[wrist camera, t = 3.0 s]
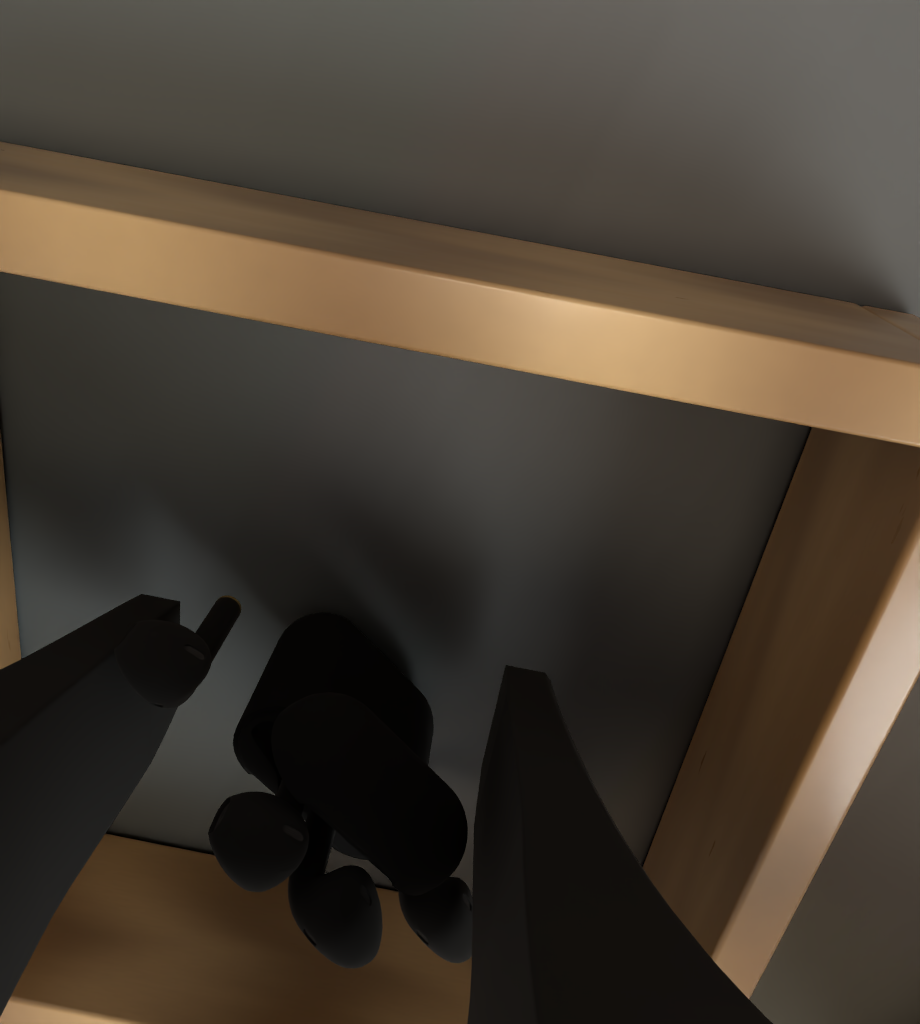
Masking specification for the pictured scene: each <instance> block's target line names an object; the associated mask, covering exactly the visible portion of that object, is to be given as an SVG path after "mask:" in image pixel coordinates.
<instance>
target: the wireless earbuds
mask: <svg viewBox="0 0 920 1024" xmlns="http://www.w3.org/2000/svg"><path fill="white" fill-rule="evenodd" d="M240 612H241V605H240V603H239V601H238V600H237V599H236V598H234V597H232V596H222V597H220V598H219V599H218V600H217V601H216V602H215V604H214V605H213V607H212V608H211V610H210V612H209V613H208V615H207V616H206V618H205V619H204V621H203V622H202V624H201V625H200V627H199V628H198V630H197V631H196V633H194V632H193V631H191V630H190V629H188V628H186V627H184V626H182V625H179V624H177V623H173V622H169V621H163V620H144V621H138V622H137V623H136V624H135V625H134V626H133V627H132V628H131V629H130V630H129V631H128V632H127V634H126V635H125V636H124V637H123V639H122V640H121V641H120V642H119V644H118V645H117V646H116V648H115V649H114V653H115V658H116V661H117V664H118V666H119V669H120V671H121V673H122V674H123V676H124V678H125V679H126V681H127V682H128V684H129V685H130V686H131V687H132V688H133V689H134V690H135V691H136V693H137V694H139V695H140V696H141V697H142V698H143V699H144V700H146V701H147V702H148V703H150V704H152V705H154V706H157V707H160V708H165V709H171V708H175V707H178V706H180V705H181V704H183V703H184V702H185V701H187V700H188V699H189V698H190V696H191V695H192V694H193V692H194V691H195V690H196V688H197V687H198V685H199V684H200V683H201V682H202V681H203V679H204V678H205V677H206V675H207V673H208V671H209V669H210V666H211V663H212V661H213V659H214V657H215V656H216V654H217V652H218V651H219V649H220V647H221V646H222V644H223V642H224V640H225V639H226V637H227V635H228V634H229V632H230V630H231V629H232V627H233V625H234V623H235V622H236V620H237V618H238V617H239V615H240ZM432 736H433V715H432V711H431V708H430V706H429V704H428V702H427V700H426V698H425V697H424V696H423V694H422V693H421V692H420V691H419V690H418V689H417V688H416V687H415V686H414V685H413V684H412V683H411V682H410V681H409V680H408V679H407V678H406V677H405V676H404V675H403V674H402V673H401V672H400V671H399V670H398V669H397V668H396V667H395V666H394V665H393V664H392V663H391V662H390V661H389V660H388V659H387V658H386V657H385V656H384V655H383V654H382V653H381V651H380V650H379V649H378V648H377V647H376V646H375V645H374V644H373V643H372V642H371V641H370V640H369V639H368V638H367V637H366V636H365V635H364V634H363V633H362V632H361V631H360V630H359V629H358V628H357V627H356V626H355V625H354V624H352V623H351V622H350V621H349V620H347V619H345V618H343V617H341V616H338V615H336V614H331V613H315V614H310V615H307V616H304V617H302V618H300V619H298V620H296V621H295V622H293V623H292V624H291V625H290V626H289V627H288V628H287V629H286V630H285V631H284V633H283V634H282V636H281V637H280V639H279V640H278V642H277V645H276V647H275V649H274V651H273V653H272V655H271V657H270V659H269V661H268V663H267V665H266V667H265V669H264V672H263V674H262V676H261V678H260V680H259V682H258V684H257V686H256V688H255V690H254V692H253V694H252V696H251V699H250V701H249V703H248V705H247V707H246V709H245V711H244V713H243V715H242V717H241V719H240V721H239V723H238V726H237V728H236V730H235V733H234V738H233V746H234V752H235V754H236V757H237V759H238V761H239V763H240V764H241V766H242V767H243V768H244V769H245V771H246V772H247V773H248V774H252V775H254V776H255V777H256V778H257V779H259V780H260V781H261V782H262V783H263V784H264V785H265V786H266V787H268V788H269V789H270V790H271V791H272V792H273V793H274V794H275V795H276V796H274V795H272V794H268V793H264V792H245V793H240V794H237V795H233V796H231V797H229V798H227V799H226V800H225V801H224V802H223V804H222V805H221V806H220V808H219V809H218V811H217V813H216V815H215V817H214V819H213V822H212V824H211V826H210V829H209V832H208V835H209V840H210V844H211V847H212V850H213V852H214V854H215V857H216V859H217V861H218V862H219V864H220V866H221V867H222V869H223V870H224V872H225V873H226V874H227V875H228V876H229V878H230V879H231V880H233V881H234V882H235V883H236V884H237V885H238V886H240V887H241V888H243V889H245V890H247V891H251V892H264V891H267V890H269V889H271V888H274V887H275V886H277V885H279V884H280V883H282V882H283V881H284V880H286V879H287V878H288V877H289V881H288V900H289V905H290V909H291V912H292V915H293V917H294V919H295V921H296V923H297V925H298V927H299V928H300V930H301V931H302V932H303V934H304V935H305V936H306V937H307V939H308V940H309V941H310V943H311V944H312V945H313V946H314V947H315V948H316V949H317V950H318V951H319V952H320V953H321V954H323V955H324V956H325V957H326V958H327V959H329V960H330V961H332V962H333V963H335V964H337V965H339V966H341V967H344V968H352V969H353V968H360V967H362V966H365V965H367V964H368V963H370V962H371V961H372V960H373V959H374V958H375V956H376V955H377V953H378V950H379V947H380V943H381V938H382V928H383V923H382V910H381V905H380V900H379V897H378V893H377V890H376V887H375V885H374V882H373V880H372V879H371V877H370V875H369V874H368V873H367V872H366V871H365V870H364V869H363V868H361V867H358V866H344V867H341V868H339V869H337V870H334V871H332V872H330V873H328V874H326V875H324V872H325V869H326V865H327V862H328V858H329V854H330V851H331V847H333V848H334V849H335V850H337V851H339V852H341V853H343V854H345V855H348V856H351V857H354V858H359V859H363V860H369V861H370V862H371V863H372V864H373V865H374V866H375V867H377V868H378V869H379V870H380V871H381V872H382V873H383V874H384V875H385V876H387V877H388V878H389V880H390V881H391V883H392V886H394V887H395V888H396V889H398V895H399V902H400V907H401V910H402V913H403V915H404V918H405V919H406V921H407V923H408V925H409V926H410V927H411V929H412V930H413V931H414V932H415V934H416V935H417V936H418V937H419V938H420V939H421V940H422V942H423V943H424V944H425V945H426V946H427V947H428V948H430V949H431V950H432V951H433V952H434V953H435V954H437V955H438V956H439V957H441V958H442V959H444V960H446V961H448V962H451V963H462V962H465V961H467V960H468V959H470V958H471V957H472V912H473V897H472V895H471V892H470V890H469V888H468V886H467V885H466V883H465V882H464V881H463V880H461V879H460V878H456V877H450V876H451V874H452V873H453V872H454V871H455V869H456V868H457V867H458V865H459V863H460V861H461V859H462V857H463V854H464V852H465V848H466V843H467V820H466V816H465V812H464V809H463V806H462V804H461V802H460V800H459V798H458V797H457V795H456V794H455V793H454V791H453V790H452V789H451V788H450V787H449V786H448V785H447V784H446V783H445V782H444V781H443V780H442V779H441V778H440V777H439V776H438V775H437V774H436V773H435V772H434V771H433V770H432V769H431V768H430V767H429V766H428V762H429V755H430V749H431V742H432ZM304 820H305V821H304Z"/></svg>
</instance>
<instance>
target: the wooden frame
mask: <svg viewBox="0 0 920 1024" xmlns="http://www.w3.org/2000/svg"><path fill="white" fill-rule="evenodd" d="M0 272H4V273H10V274H15V275H20V276H25V277H30V278H36V279H41V280H46V281H51V282H57V283H62V284H67V285H72V286H78V287H83V288H88V289H93V290H98V291H104V292H109V293H114V294H119V295H125V296H130V297H135V298H140V299H146V300H151V301H156V302H161V303H166V304H172V305H177V306H182V307H187V308H193V309H198V310H203V311H208V312H214V313H219V314H224V315H229V316H234V317H240V318H245V319H250V320H255V321H261V322H266V323H271V324H276V325H282V326H287V327H292V328H297V329H302V330H308V331H313V332H318V333H323V334H329V335H334V336H339V337H344V338H349V339H355V340H360V341H365V342H370V343H376V344H381V345H386V346H391V347H397V348H402V349H407V350H412V351H417V352H423V353H428V354H433V355H438V356H444V357H449V358H454V359H459V360H465V361H470V362H475V363H480V364H485V365H491V366H496V367H501V368H506V369H512V370H517V371H522V372H527V373H533V374H538V375H543V376H548V377H553V378H559V379H564V380H569V381H574V382H580V383H585V384H590V385H595V386H601V387H606V388H611V389H616V390H621V391H627V392H632V393H637V394H642V395H648V396H653V397H658V398H663V399H669V400H674V401H679V402H684V403H689V404H695V405H700V406H705V407H710V408H716V409H721V410H726V411H731V412H737V413H742V414H747V415H752V416H757V417H763V418H768V419H773V420H778V421H784V422H789V423H794V424H799V425H805V426H810V427H812V429H811V432H810V435H809V437H808V440H807V442H806V445H805V448H804V450H803V453H802V455H801V458H800V461H799V463H798V466H797V468H796V471H795V474H794V476H793V479H792V481H791V484H790V487H789V489H788V492H787V494H786V497H785V500H784V502H783V505H782V507H781V510H780V513H779V515H778V518H777V520H776V523H775V525H774V528H773V531H772V533H771V536H770V538H769V541H768V544H767V546H766V549H765V551H764V554H763V557H762V559H761V562H760V564H759V567H758V570H757V572H756V575H755V577H754V580H753V583H752V585H751V588H750V590H749V593H748V596H747V598H746V601H745V603H744V606H743V609H742V611H741V614H740V616H739V619H738V621H737V624H736V627H735V629H734V632H733V634H732V637H731V640H730V642H729V645H728V647H727V650H726V653H725V655H724V658H723V660H722V663H721V666H720V668H719V671H718V673H717V676H716V679H715V681H714V684H713V686H712V689H711V692H710V694H709V697H708V699H707V702H706V705H705V707H704V710H703V712H702V715H701V717H700V720H699V723H698V725H697V728H696V730H695V733H694V736H693V738H692V741H691V743H690V746H689V749H688V751H687V754H686V756H685V759H684V762H683V764H682V767H681V769H680V772H679V775H678V777H677V780H676V782H675V785H674V788H673V790H672V793H671V795H670V798H669V801H668V803H667V806H666V808H665V811H664V813H663V816H662V819H661V821H660V824H659V826H658V829H657V832H656V834H655V837H654V839H653V842H652V845H651V847H650V850H649V852H648V855H647V858H646V860H645V863H644V865H643V869H644V871H645V872H646V874H647V875H648V877H649V878H650V880H651V881H652V883H653V884H654V886H655V887H656V888H657V890H658V891H659V892H660V894H661V895H662V897H663V898H664V899H665V901H666V902H667V904H668V905H669V906H670V908H671V909H672V910H673V912H674V913H675V914H676V915H677V916H678V918H679V919H680V920H681V921H682V923H683V924H684V925H685V926H686V928H687V929H688V930H689V931H690V933H691V934H692V935H693V936H694V937H695V939H696V940H697V941H698V942H699V944H700V945H701V946H702V947H703V949H704V950H705V951H706V952H707V953H708V955H709V956H710V957H711V958H712V959H713V961H714V962H715V963H716V964H717V965H718V966H719V968H720V969H721V970H722V971H723V972H724V973H725V974H726V975H727V976H728V977H729V978H730V979H731V981H732V982H733V983H734V984H735V985H736V986H737V987H738V988H739V989H740V990H741V991H742V992H743V994H744V995H745V996H746V997H747V998H748V999H750V997H751V995H752V993H753V991H754V989H755V987H756V986H757V984H758V982H759V980H760V978H761V976H762V974H763V972H764V970H765V968H766V966H767V965H768V963H769V961H770V959H771V957H772V955H773V953H774V951H775V949H776V947H777V945H778V944H779V942H780V940H781V938H782V936H783V934H784V932H785V930H786V928H787V926H788V925H789V923H790V921H791V919H792V917H793V915H794V913H795V911H796V909H797V907H798V905H799V904H800V902H801V900H802V898H803V896H804V894H805V892H806V890H807V888H808V886H809V884H810V883H811V881H812V879H813V877H814V875H815V873H816V871H817V869H818V867H819V865H820V864H821V862H822V860H823V858H824V856H825V854H826V852H827V850H828V848H829V846H830V844H831V843H832V841H833V839H834V837H835V835H836V833H837V831H838V829H839V827H840V825H841V824H842V822H843V820H844V818H845V816H846V814H847V812H848V810H849V808H850V806H851V804H852V803H853V801H854V799H855V797H856V795H857V793H858V791H859V789H860V787H861V785H862V783H863V782H864V780H865V778H866V776H867V774H868V772H869V770H870V768H871V766H872V764H873V763H874V761H875V759H876V757H877V755H878V753H879V751H880V749H881V747H882V745H883V743H884V742H885V740H886V738H887V736H888V734H889V732H890V730H891V728H892V726H893V724H894V723H895V721H896V719H897V717H898V715H899V713H900V711H901V709H902V707H903V705H904V703H905V702H906V700H907V698H908V696H909V694H910V692H911V690H912V688H913V686H914V684H915V682H916V681H917V679H918V677H919V675H920V318H918V317H917V316H915V315H912V314H907V313H901V312H896V311H891V310H886V309H880V308H875V307H870V306H863V307H860V306H859V305H857V304H855V303H850V302H845V301H840V300H835V299H829V298H824V297H819V296H813V295H808V294H803V293H798V292H792V291H787V290H782V289H776V288H771V287H766V286H761V285H755V284H750V283H745V282H739V281H734V280H729V279H724V278H718V277H713V276H708V275H703V274H697V273H692V272H687V271H681V270H676V269H671V268H666V267H660V266H655V265H650V264H644V263H639V262H634V261H629V260H623V259H618V258H613V257H607V256H602V255H597V254H592V253H586V252H581V251H576V250H570V249H565V248H560V247H555V246H549V245H544V244H539V243H534V242H528V241H523V240H518V239H512V238H507V237H502V236H497V235H491V234H486V233H481V232H475V231H470V230H465V229H460V228H454V227H449V226H444V225H438V224H433V223H428V222H423V221H417V220H412V219H407V218H401V217H396V216H391V215H386V214H380V213H375V212H370V211H365V210H359V209H354V208H349V207H343V206H338V205H333V204H328V203H322V202H317V201H312V200H306V199H301V198H296V197H291V196H285V195H280V194H275V193H269V192H264V191H259V190H254V189H248V188H243V187H238V186H232V185H227V184H222V183H217V182H211V181H206V180H201V179H196V178H190V177H185V176H180V175H174V174H169V173H164V172H159V171H153V170H148V169H143V168H137V167H132V166H127V165H122V164H116V163H111V162H106V161H100V160H95V159H90V158H85V157H79V156H74V155H69V154H64V153H58V152H53V151H48V150H42V149H37V148H32V147H27V146H21V145H16V144H11V143H5V142H0ZM19 660H21V649H20V638H19V627H18V616H17V606H16V595H15V584H14V573H13V562H12V551H11V540H10V529H9V519H8V508H7V497H6V486H5V475H4V464H3V453H2V442H1V431H0V669H2V668H4V667H6V666H9V665H11V664H13V663H15V662H17V661H19ZM288 881H289V877H288V878H287V879H286V880H284V881H283V882H282V883H280V884H279V885H277V886H275V887H274V888H271V889H269V890H267V891H264V892H251V891H247V890H245V889H243V888H241V887H240V886H238V885H237V884H236V883H235V882H234V881H233V880H231V879H230V878H229V876H228V875H227V874H226V873H225V872H224V870H223V869H222V867H221V866H220V864H219V862H218V861H217V859H216V857H215V855H211V854H206V853H201V852H196V851H191V850H186V849H181V848H175V847H170V846H165V845H160V844H155V843H150V842H145V841H140V840H135V839H130V838H125V837H120V836H115V835H110V834H105V835H104V836H103V838H102V839H101V841H100V842H99V844H98V845H97V847H96V848H95V850H94V852H93V853H92V855H91V856H90V858H89V859H88V861H87V862H86V864H85V865H84V867H83V868H82V870H81V871H80V873H79V874H78V876H77V877H76V879H75V881H74V882H73V884H72V885H71V887H70V888H69V890H68V891H67V893H66V895H65V897H64V898H63V900H62V902H61V903H60V905H59V907H58V908H57V910H56V912H55V913H54V915H53V917H52V918H51V920H50V922H49V924H48V926H47V928H46V930H45V932H44V933H43V935H42V937H41V939H40V941H39V943H38V945H37V947H36V949H35V951H34V953H33V954H32V956H31V958H30V960H29V962H28V964H27V966H26V968H25V970H24V972H23V973H22V975H21V977H20V979H19V981H18V983H17V985H16V987H15V989H14V991H13V993H12V995H11V997H10V999H9V1001H8V1003H7V1005H6V1007H5V1009H4V1011H3V1013H2V1015H1V1017H0V1024H467V1022H468V1012H469V1003H470V987H471V969H472V957H471V958H470V959H468V960H467V961H465V962H462V963H451V962H448V961H446V960H444V959H442V958H441V957H439V956H438V955H437V954H435V953H434V952H433V951H432V950H431V949H430V948H428V947H427V946H426V945H425V944H424V943H423V942H422V940H421V939H420V938H419V937H418V936H417V935H416V934H415V932H414V931H413V930H412V929H411V927H410V926H409V925H408V923H407V921H406V919H405V918H404V915H403V913H402V910H401V907H400V902H399V895H398V892H397V891H392V890H387V889H382V888H377V887H376V890H377V893H378V897H379V900H380V905H381V910H382V923H383V928H382V938H381V943H380V947H379V950H378V953H377V955H376V956H375V958H374V959H373V960H372V961H371V962H370V963H368V964H367V965H365V966H362V967H360V968H353V969H352V968H344V967H341V966H339V965H337V964H335V963H333V962H332V961H330V960H329V959H327V958H326V957H325V956H324V955H323V954H321V953H320V952H319V951H318V950H317V949H316V948H315V947H314V946H313V945H312V944H311V943H310V941H309V940H308V939H307V937H306V936H305V935H304V934H303V932H302V931H301V930H300V928H299V927H298V925H297V923H296V921H295V919H294V917H293V915H292V912H291V909H290V905H289V900H288Z"/></svg>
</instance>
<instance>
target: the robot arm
mask: <svg viewBox="0 0 920 1024" xmlns="http://www.w3.org/2000/svg"><path fill="white" fill-rule="evenodd" d="M144 620H163V621H169V622H173V623H177V624H179V625H180V601H175V600H170V599H164V598H159V597H154V596H149V595H144V594H141V595H139V596H137V597H135V598H133V599H131V600H129V601H127V602H125V603H123V604H122V605H120V606H118V607H116V608H114V609H112V610H111V611H109V612H107V613H105V614H103V615H102V616H100V617H98V618H96V619H95V620H93V621H91V622H89V623H87V624H86V625H84V626H82V627H80V628H78V629H77V630H75V631H73V632H71V633H69V634H68V635H66V636H64V637H62V638H60V639H58V640H56V641H55V642H53V643H51V644H49V645H47V646H45V647H44V648H42V649H40V650H38V651H36V652H34V653H32V654H31V655H29V656H27V657H25V658H23V659H21V660H19V661H17V662H15V663H13V664H11V665H9V666H6V667H4V668H2V669H0V1017H1V1015H2V1013H3V1011H4V1009H5V1007H6V1005H7V1003H8V1001H9V999H10V997H11V995H12V993H13V991H14V989H15V987H16V985H17V983H18V981H19V979H20V977H21V975H22V973H23V972H24V970H25V968H26V966H27V964H28V962H29V960H30V958H31V956H32V954H33V953H34V951H35V949H36V947H37V945H38V943H39V941H40V939H41V937H42V935H43V933H44V932H45V930H46V928H47V926H48V924H49V922H50V920H51V918H52V917H53V915H54V913H55V912H56V910H57V908H58V907H59V905H60V903H61V902H62V900H63V898H64V897H65V895H66V893H67V891H68V890H69V888H70V887H71V885H72V884H73V882H74V881H75V879H76V877H77V876H78V874H79V873H80V871H81V870H82V868H83V867H84V865H85V864H86V862H87V861H88V859H89V858H90V856H91V855H92V853H93V852H94V850H95V848H96V847H97V845H98V844H99V842H100V841H101V839H102V838H103V836H104V835H105V833H106V832H107V830H108V829H109V827H110V826H111V824H112V823H113V821H114V820H115V818H116V816H117V815H118V813H119V812H120V810H121V809H122V807H123V806H124V804H125V803H126V801H127V800H128V798H129V796H130V795H131V793H132V792H133V790H134V789H135V787H136V786H137V784H138V783H139V781H140V779H141V778H142V776H143V775H144V773H145V772H146V770H147V768H148V767H149V765H150V764H151V762H152V760H153V758H154V756H155V754H156V752H157V750H158V748H159V746H160V744H161V742H162V740H163V738H164V736H165V734H166V731H167V729H168V727H169V725H170V723H171V721H172V718H173V716H174V714H175V712H176V710H177V708H178V707H175V708H171V709H165V708H160V707H157V706H154V705H152V704H150V703H148V702H147V701H146V700H144V699H143V698H142V697H141V696H140V695H139V694H137V693H136V691H135V690H134V689H133V688H132V687H131V686H130V685H129V684H128V682H127V681H126V679H125V678H124V676H123V674H122V673H121V671H120V669H119V666H118V664H117V661H116V658H115V653H114V649H115V648H116V646H117V645H118V644H119V642H120V641H121V640H122V639H123V637H124V636H125V635H126V634H127V632H128V631H129V630H130V629H131V628H132V627H133V626H134V625H135V624H136V623H137V622H138V621H144ZM467 1024H773V1023H772V1022H771V1021H769V1020H768V1019H767V1018H766V1017H765V1016H764V1015H763V1014H762V1013H761V1012H760V1011H759V1010H758V1009H757V1008H756V1006H755V1005H754V1004H753V1003H752V1002H751V1001H750V1000H749V999H748V998H747V997H746V996H745V995H744V994H743V992H742V991H741V990H740V989H739V988H738V987H737V986H736V985H735V984H734V983H733V982H732V981H731V979H730V978H729V977H728V976H727V975H726V974H725V973H724V972H723V971H722V970H721V969H720V968H719V966H718V965H717V964H716V963H715V962H714V961H713V959H712V958H711V957H710V956H709V955H708V953H707V952H706V951H705V950H704V949H703V947H702V946H701V945H700V944H699V942H698V941H697V940H696V939H695V937H694V936H693V935H692V934H691V933H690V931H689V930H688V929H687V928H686V926H685V925H684V924H683V923H682V921H681V920H680V919H679V918H678V916H677V915H676V914H675V913H674V912H673V910H672V909H671V908H670V906H669V905H668V904H667V902H666V901H665V899H664V898H663V897H662V895H661V894H660V892H659V891H658V890H657V888H656V887H655V886H654V884H653V883H652V881H651V880H650V878H649V877H648V875H647V874H646V872H645V871H644V869H643V868H642V866H641V865H640V863H639V862H638V860H637V859H636V857H635V856H634V854H633V853H632V851H631V850H630V848H629V846H628V845H627V843H626V842H625V840H624V838H623V837H622V835H621V833H620V832H619V830H618V828H617V827H616V825H615V823H614V821H613V819H612V818H611V816H610V814H609V812H608V811H607V809H606V807H605V805H604V803H603V802H602V800H601V798H600V796H599V794H598V792H597V790H596V788H595V786H594V784H593V782H592V780H591V778H590V776H589V774H588V772H587V770H586V768H585V766H584V764H583V762H582V760H581V757H580V755H579V753H578V751H577V749H576V747H575V744H574V742H573V740H572V738H571V735H570V733H569V730H568V728H567V726H566V723H565V721H564V718H563V716H562V713H561V711H560V708H559V705H558V702H557V700H556V697H555V694H554V691H553V688H552V685H551V681H550V679H549V678H548V676H547V675H546V674H545V673H543V672H538V671H533V670H528V669H523V668H518V667H513V666H508V665H506V667H505V671H504V675H503V679H502V683H501V688H500V692H499V696H498V700H497V704H496V708H495V713H494V717H493V721H492V725H491V729H490V734H489V738H488V742H487V746H486V750H485V755H484V759H483V763H482V769H481V777H480V784H479V792H478V799H477V807H476V816H475V824H474V857H473V912H472V969H471V987H470V1003H469V1012H468V1022H467Z"/></svg>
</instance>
